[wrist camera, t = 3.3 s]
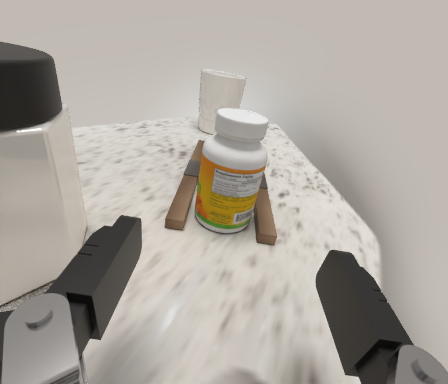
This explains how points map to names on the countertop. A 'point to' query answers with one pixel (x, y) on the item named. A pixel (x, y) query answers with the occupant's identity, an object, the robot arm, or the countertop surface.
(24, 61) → the jar
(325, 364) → the countertop surface
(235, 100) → the white cup
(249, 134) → the supplement bottle
